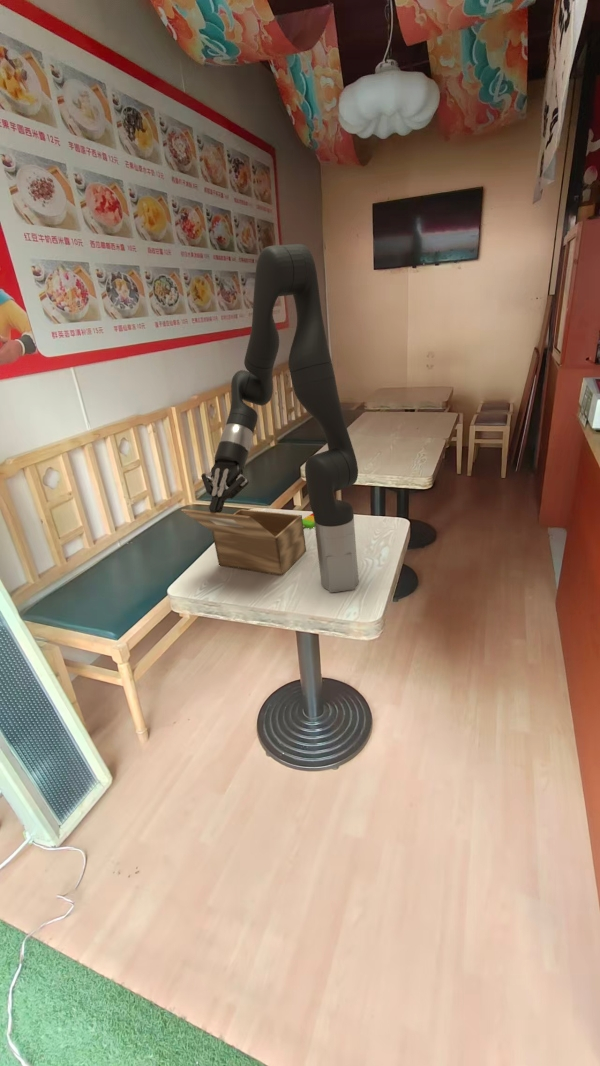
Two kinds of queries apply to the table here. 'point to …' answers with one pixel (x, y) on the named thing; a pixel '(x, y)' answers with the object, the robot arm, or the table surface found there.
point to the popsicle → (309, 521)
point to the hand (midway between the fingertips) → (214, 513)
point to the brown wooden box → (263, 544)
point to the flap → (229, 523)
